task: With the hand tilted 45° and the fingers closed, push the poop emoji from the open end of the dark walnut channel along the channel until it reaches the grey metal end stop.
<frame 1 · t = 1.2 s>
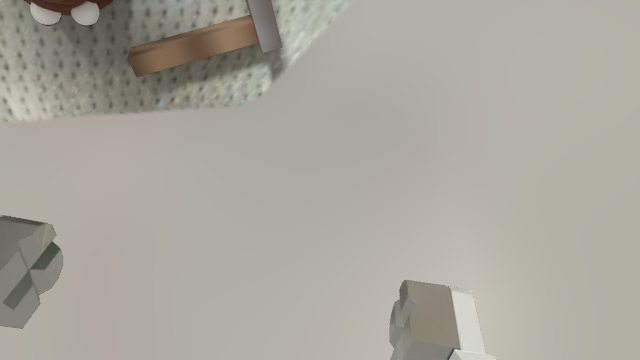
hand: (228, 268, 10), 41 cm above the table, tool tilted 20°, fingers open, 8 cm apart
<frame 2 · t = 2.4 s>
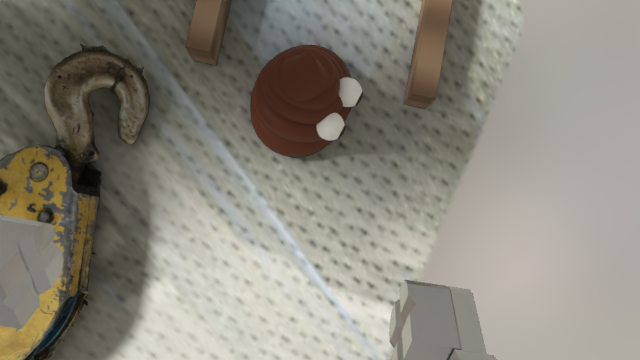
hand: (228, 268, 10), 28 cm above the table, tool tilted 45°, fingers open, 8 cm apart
channel: (319, 42, 40), on the table
pulley block: (52, 220, 38), on the table
poop emoji: (303, 106, 40), on the table
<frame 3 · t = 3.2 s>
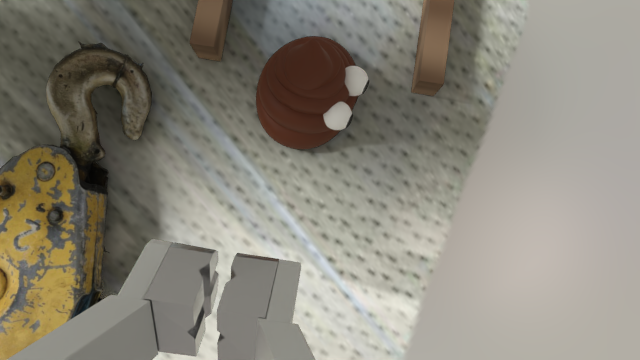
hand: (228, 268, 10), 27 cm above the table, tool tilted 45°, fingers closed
channel: (323, 34, 40), on the table
pulley block: (62, 222, 38), on the table
poop emoji: (309, 98, 40), on the table
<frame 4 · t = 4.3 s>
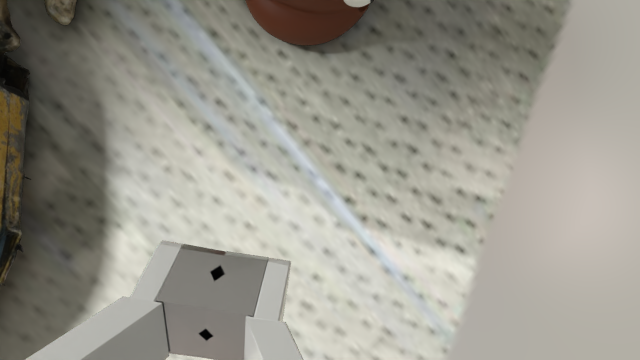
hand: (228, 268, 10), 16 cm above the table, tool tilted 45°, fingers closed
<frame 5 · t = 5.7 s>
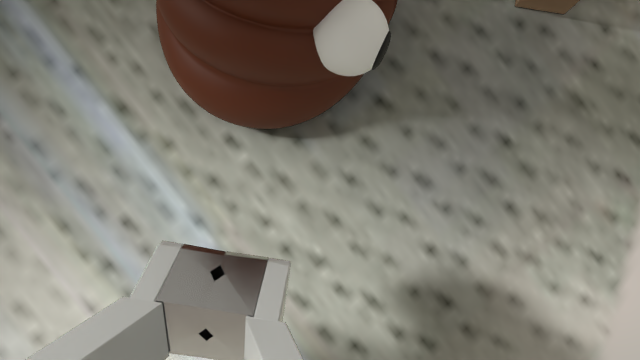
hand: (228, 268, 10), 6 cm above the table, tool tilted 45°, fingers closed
poop emoji: (286, 19, 18), on the table
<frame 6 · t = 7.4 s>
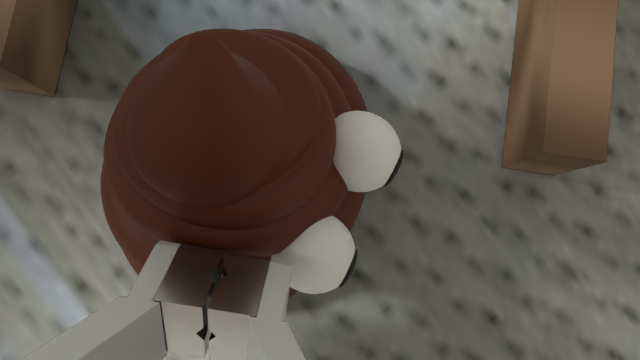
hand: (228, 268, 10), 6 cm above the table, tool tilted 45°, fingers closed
channel: (295, 32, 17), on the table
poop emoji: (255, 176, 17), on the table, touching gripper
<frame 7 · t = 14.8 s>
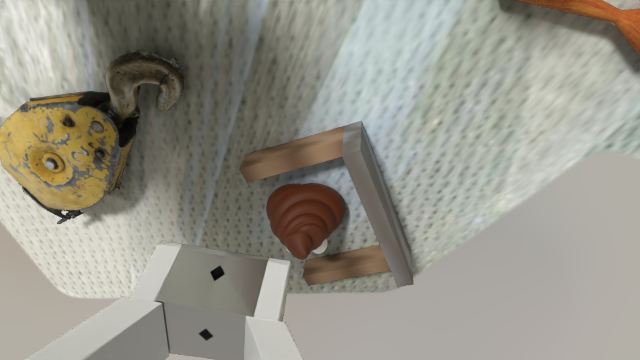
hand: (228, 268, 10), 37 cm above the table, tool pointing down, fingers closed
channel: (308, 211, 59), on the table
pulley block: (101, 124, 54), on the table
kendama: (601, 6, 41), on the table
poop emoji: (306, 203, 58), on the table
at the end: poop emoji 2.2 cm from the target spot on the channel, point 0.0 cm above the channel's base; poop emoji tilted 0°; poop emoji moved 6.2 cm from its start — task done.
